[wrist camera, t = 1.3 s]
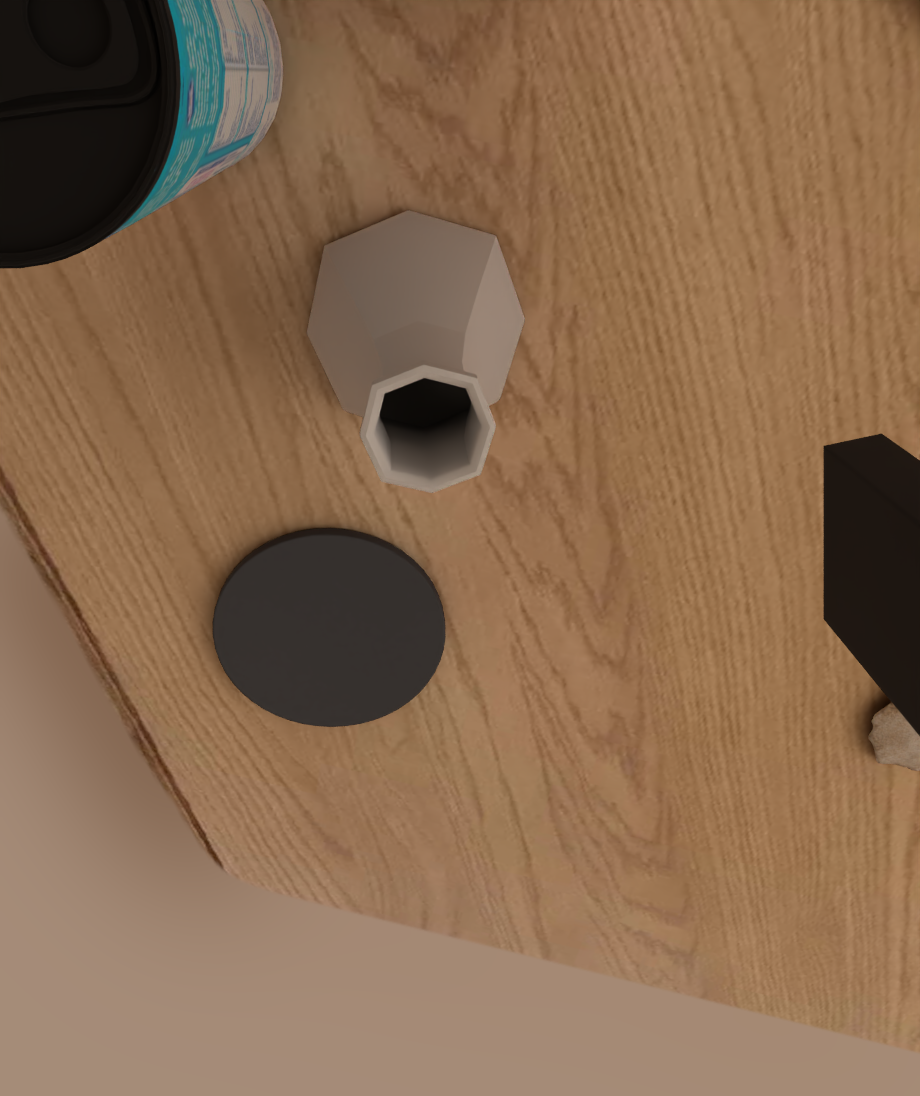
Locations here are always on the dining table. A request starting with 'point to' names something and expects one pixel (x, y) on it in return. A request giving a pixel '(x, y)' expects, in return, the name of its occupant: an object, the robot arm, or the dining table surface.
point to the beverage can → (122, 111)
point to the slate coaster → (329, 627)
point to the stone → (895, 739)
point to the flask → (418, 343)
